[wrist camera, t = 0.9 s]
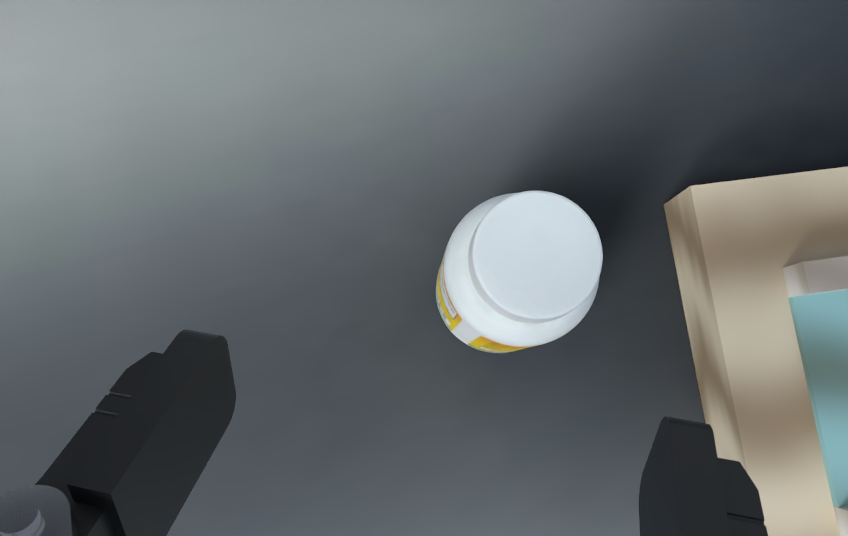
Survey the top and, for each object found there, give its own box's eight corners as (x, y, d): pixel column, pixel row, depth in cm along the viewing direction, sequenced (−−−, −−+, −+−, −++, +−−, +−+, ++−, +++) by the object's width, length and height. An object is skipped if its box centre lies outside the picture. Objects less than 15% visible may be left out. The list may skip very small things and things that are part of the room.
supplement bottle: (410, 298, 30) (410, 259, 21) (489, 208, 31) (524, 131, 22) (504, 380, 30) (549, 379, 20) (583, 287, 31) (660, 244, 21)
